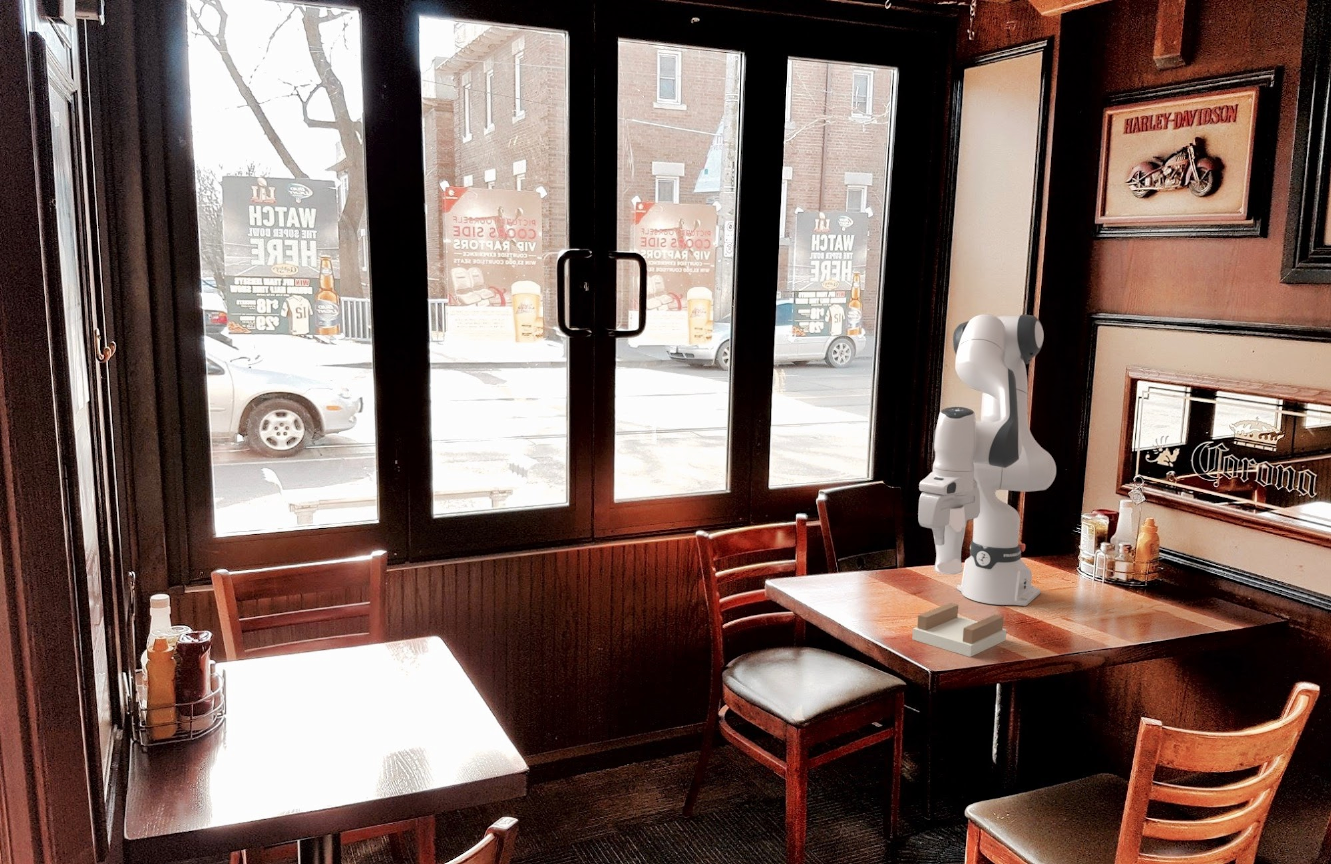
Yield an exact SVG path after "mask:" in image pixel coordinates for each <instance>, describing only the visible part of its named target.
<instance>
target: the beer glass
mask: <svg viewBox="0 0 1331 864" xmlns="http://www.w3.org/2000/svg"><path fill="white" fill-rule="evenodd" d="M942 532H943V537H944V540H945V544H944V545H941V546H939V545H936V544H935V543H934V545H935V553H936V554H935V555H936V557H935V563H934V567H933V569H934V571H935V573H938V574H942V575H957V574H962V573H963V572H964V568H963V564H962V550H963V548H962V547H963V544H964V538H965V532H966V527H965V509H964V505H963V504H962V507H961V508H953V509H950V521H949V524H948V525H946V526H944V530H943V531H942ZM932 534H933V533H932ZM933 539H934V540H933V541H934V542H935V536H934V534H933Z"/></svg>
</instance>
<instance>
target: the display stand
mask: <svg viewBox="0 0 1331 864" xmlns="http://www.w3.org/2000/svg"><path fill="white" fill-rule="evenodd" d="M1003 627H1004V616H1002V615H998V614H993V615H990V616H989V617H986V618H984V619H980V620H979V621H977V620H973V619H970V618H967V617H962V616H959V604H956V603H953V602H949V603H946V604H944V605H941V606H938V607H936V608H934V609H930V610H929V611H925V612H923V613H921V614H918V615H917V626H916V627H914V628H912V636H911V637H912V638H911V639H912V641H915V642H920V643H922V644H925V645H930V646H933V647H936V648H938V649H943V650H945V651H949V652H953V653H955V654H959V655H962V656H966V657H969V658H971V657H974V656H975V655H977V654H979V653H982V652H984V651H986V650H988V649H990V648H992V647H994V646H996V645H1000V644H1001V643H1003V642H1006V641H1007V631H1008V629H1006V628H1003Z"/></svg>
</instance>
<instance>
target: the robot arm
mask: <svg viewBox="0 0 1331 864" xmlns="http://www.w3.org/2000/svg"><path fill="white" fill-rule="evenodd" d="M1044 338H1045V337H1044V330H1043V325H1042V323H1041V321H1040V320H1039V318H1037V316H1035V315H1030V314H1020V315H999V316H996V315H993V314H987V313H983V314H982V313H981V314H977V315H976V316H973V317H972V318H970V319H969V320H968V321H964V322H962V323H960V324H958V325H957V327H956V328H955V329H954V330H953V334H952V345H953V346H952V347H953V351H954V353H955V361H954V362H955V363H954V367H955V368H954V369H955V372H956V375H957V377H958V378H959V379H960V381H961V382H962V383H963V384H964V385H966V386H967V387H969V388H970V389H973V390H976V391H978V392H981V406H980V407H981V408H980V409H981V410H980V420H976V413H975V411H974V410H972V409H970V408H967V407H964V406H951V407H946V408H944V409H941V410H940V412H939V414H938V417H937V418H938V419H937V421H936V422H937V424H936V427H935V429H934V432H933V441H932V449H933V451H934V454H935V456H934V457H935V458H934V461H933V464H932V471H931V472H930V473H929V474H928V475H927V476H926V477H925V478H923V479H922V480H920V482H919V484H918V486H919V487H918V489H919V491H920V492H921V494H920V496H919V499H918V511H917V512H918V513H917V515H918V517H917V518H918V523H919V526H920V527H923V528H927V529H931V530H932V534H934V535H933V537H934V536H935V541H934V545H935V544H936V545H939V546H941V545H944V544H945V540H944V537H943V532H942V531H943V530H944V526H946V525H948V524H949V521H950V509H953V508H961V507H962V504H963V505H964V509H965V528H966V527H967V522H968V521H970V520H972V521H973V524H972V525H973V527H972V530H973V532H972V540H971V541H970V545H969V554H970V556H969V557H968V558H966V559H965V560H964V567H963V571H962V579H961V583H960V584H957V587H956V589H957V590H958V591H960V592H961V595H962V596H963V597H965V598H967V599H969V600H972V601H975V602H978V603H983V604H989V605H997V606H998V605H1001V606H1005V605H1006V606H1023V607H1026V606H1028V605H1029V604H1030V603H1031V602H1032V601H1033V600H1034V599H1036V598H1037V597H1038V596H1039V595H1040V594H1041V589H1040V588H1038V587H1036V586H1034V585H1032V579H1033V578H1032V577H1033V576H1032V570H1031V569H1030V568H1029V567H1028V566H1027V565H1026V564H1025V562H1024V561H1023V560H1022V554H1021V553H1022V552H1024V551H1025V550H1026V544H1025V543H1020V542H1019V539H1020V530H1021V529H1020V526H1021V516H1020V514H1019V512H1018V511H1017V509H1015V508H1014V507H1012V506H1011V505H1010V504H1007V503H1006V502H1004V501H1003V500H1001V499H1000V498H998V496H997V494H996V492H997V491H1014V492H1026V493H1027V492H1037V491H1038V492H1039V491H1046V490H1047V489H1049V487H1051V485H1052V484H1053V482H1054V481H1055V478H1056V476H1057V465H1056V462H1055V460H1054V458H1053V457H1052V455H1051V454H1050V453H1049V451H1047V450H1046V449H1044V448H1043V447H1041V445H1040V444H1039V443H1038V442H1037V440H1035V438H1034V436H1033V434H1032V432H1031V430H1030V426H1029V422H1028V421H1029V420H1028V390H1029V389H1028V387H1029V386H1028V375H1027V368H1026V365H1029V364H1030V363H1031V361H1032V359H1033V358H1035V357H1036V356H1037V355H1038V354H1039V353H1040V351H1041V349H1042V347H1043V342H1044Z"/></svg>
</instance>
